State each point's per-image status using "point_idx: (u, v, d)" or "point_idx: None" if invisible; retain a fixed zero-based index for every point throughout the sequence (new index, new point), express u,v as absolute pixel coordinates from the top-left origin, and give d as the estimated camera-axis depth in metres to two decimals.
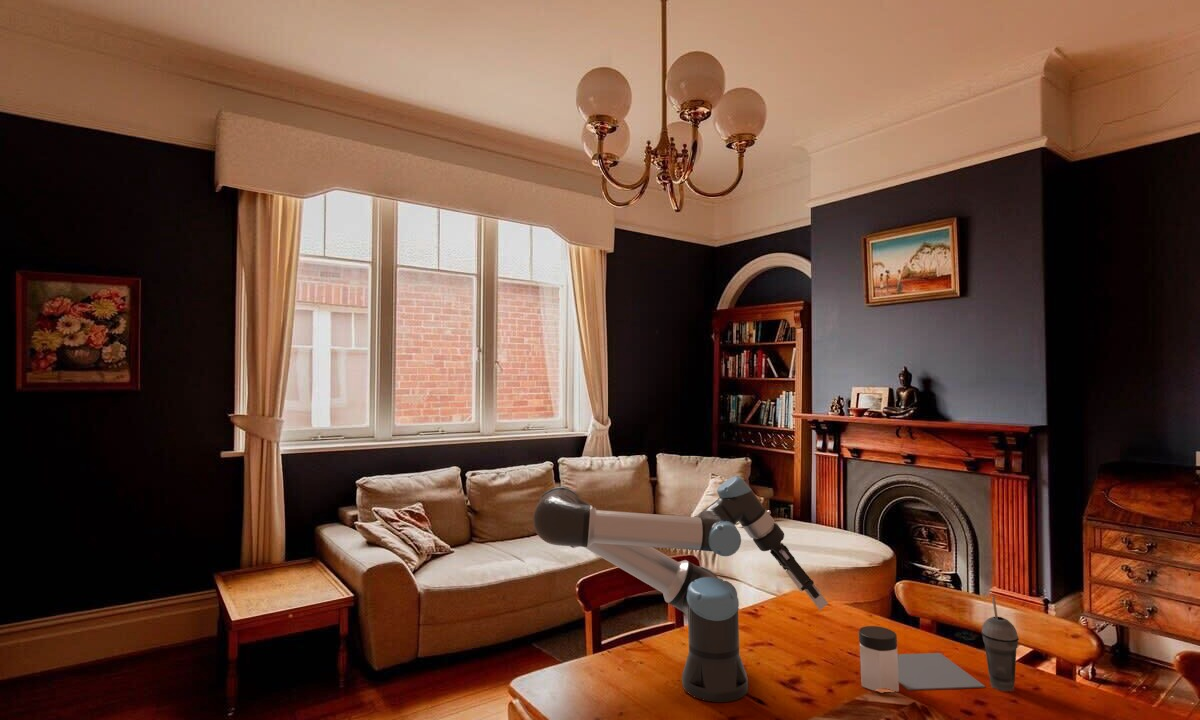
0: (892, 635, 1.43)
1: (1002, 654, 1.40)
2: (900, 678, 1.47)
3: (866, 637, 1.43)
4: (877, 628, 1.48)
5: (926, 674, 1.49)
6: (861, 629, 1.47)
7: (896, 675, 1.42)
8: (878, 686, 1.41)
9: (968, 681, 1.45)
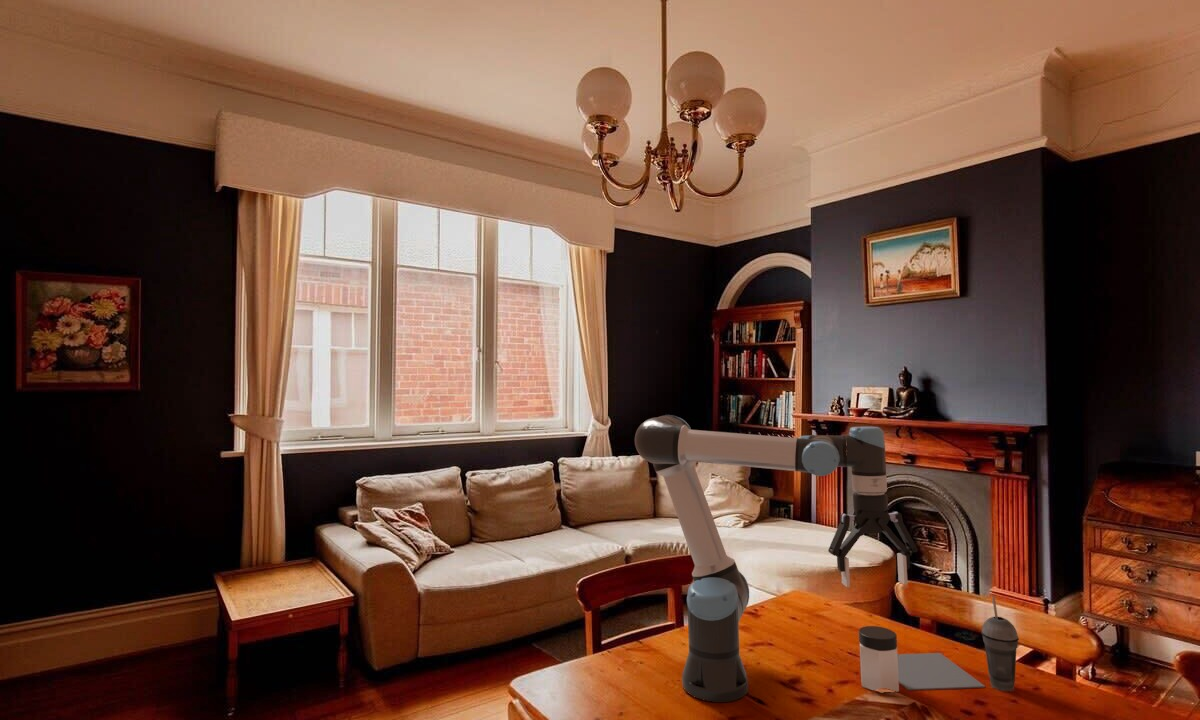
0: (892, 635, 1.43)
1: (1002, 654, 1.40)
2: (900, 678, 1.47)
3: (866, 637, 1.43)
4: (877, 628, 1.48)
5: (926, 674, 1.49)
6: (861, 629, 1.47)
7: (896, 675, 1.42)
8: (878, 686, 1.41)
9: (968, 681, 1.45)
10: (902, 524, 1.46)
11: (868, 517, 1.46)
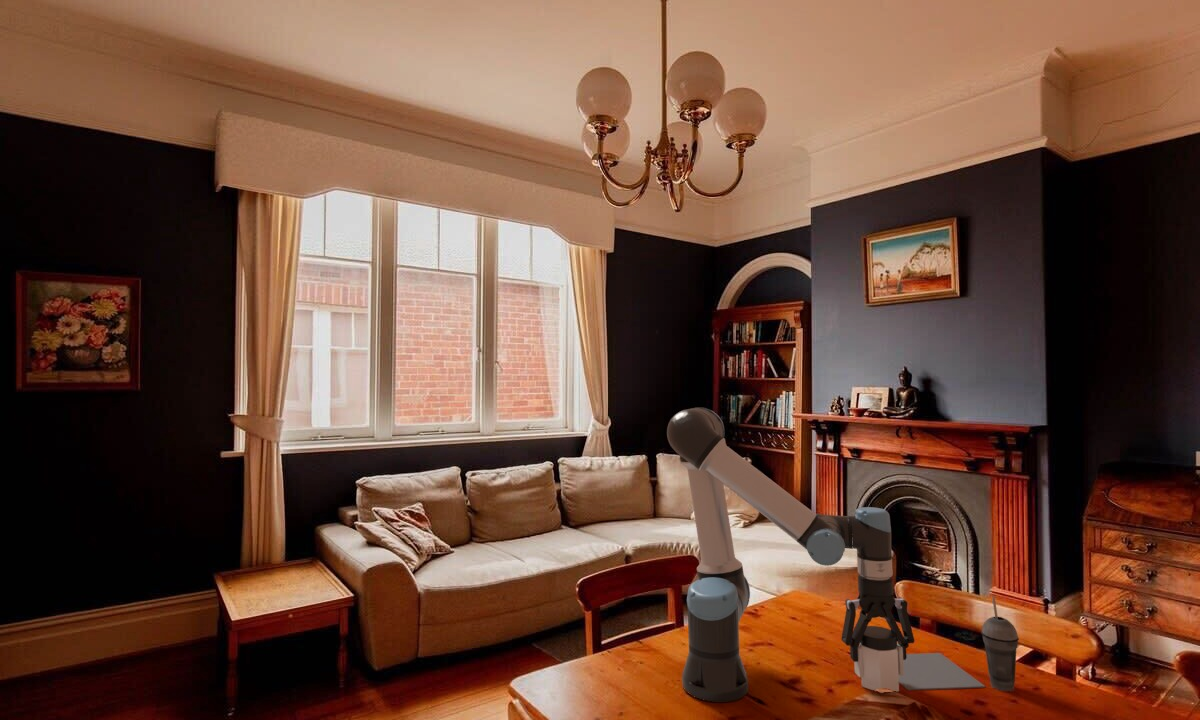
0: (892, 635, 1.43)
1: (1002, 654, 1.40)
2: (900, 678, 1.47)
3: (866, 637, 1.43)
4: (877, 628, 1.48)
5: (926, 674, 1.49)
6: None
7: (896, 675, 1.42)
8: (878, 686, 1.41)
9: (968, 681, 1.45)
10: (905, 612, 1.45)
11: (872, 599, 1.45)
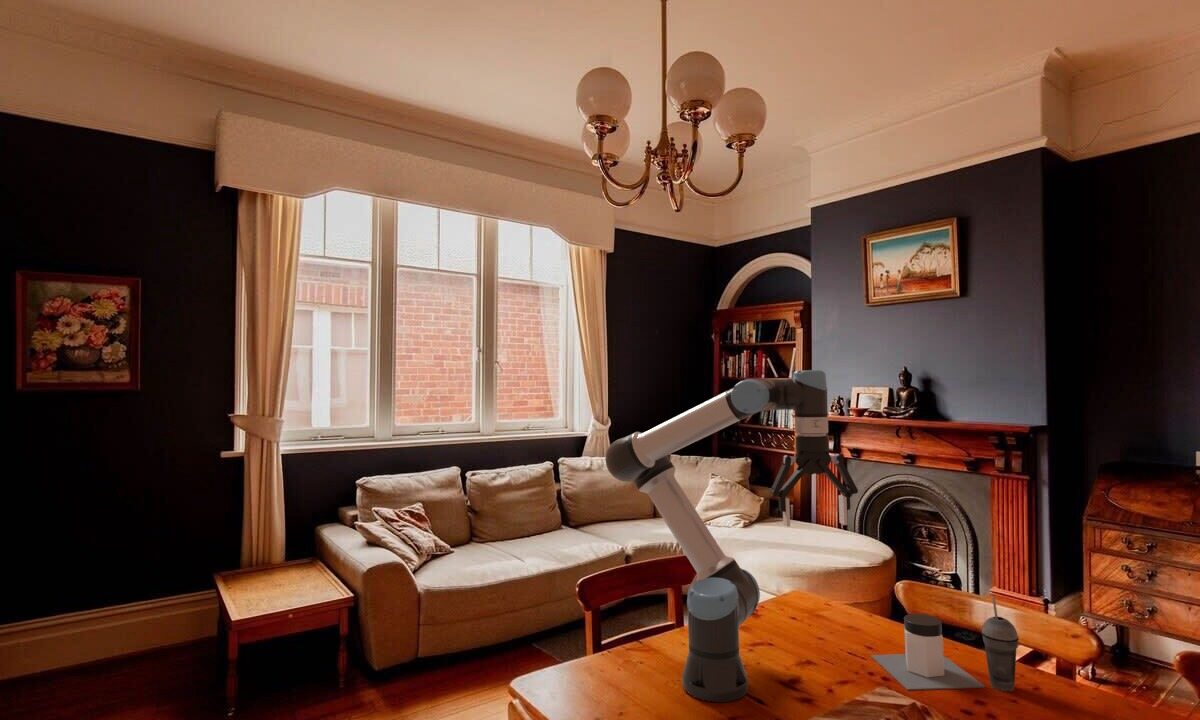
0: (937, 622, 1.50)
1: (1002, 654, 1.40)
2: (900, 678, 1.47)
3: (912, 624, 1.50)
4: (921, 615, 1.54)
5: None
6: (906, 616, 1.54)
7: (941, 660, 1.48)
8: (924, 671, 1.48)
9: (968, 681, 1.45)
10: (843, 466, 1.48)
11: (809, 458, 1.48)
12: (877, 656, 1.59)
